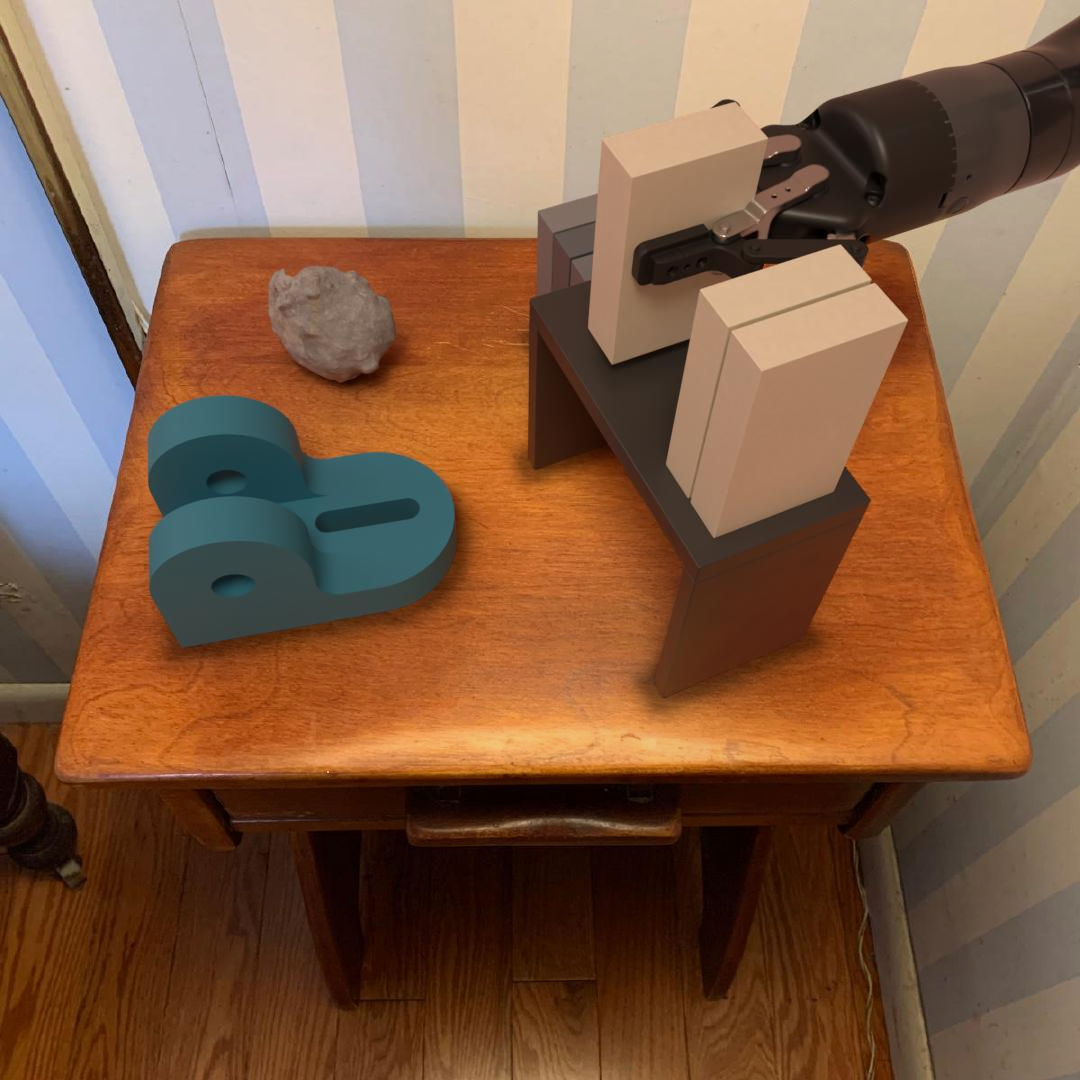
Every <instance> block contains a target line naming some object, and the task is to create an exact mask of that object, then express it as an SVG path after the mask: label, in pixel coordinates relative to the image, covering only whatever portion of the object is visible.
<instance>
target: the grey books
mask: <svg viewBox="0 0 1080 1080" xmlns="http://www.w3.org/2000/svg"><path fill="white" fill-rule="evenodd" d="M597 199H598V193H595V194H591V195H588V196H584V197H581V198H578V199H573V200H570V201H567V202H563V203H559V204H557V205H553V206H549V207H546V208H542V209H539V210H537V233H536V234H537V235H536V236H537V238H536V239H537V240H536V241H537V243H536V292H535V293H536V295H535V297H537V296H540V295H543V294H547V293H550V292H553V291H556V290H560V289H563V288H566V287H569V286H572V285H576V284H579V283H582V282H585V281H589V280H592V266H593V253H594V239H595V226H596V212H597Z"/></svg>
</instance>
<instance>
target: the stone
mask: <svg viewBox="0 0 1080 1080" xmlns="http://www.w3.org/2000/svg"><path fill="white" fill-rule="evenodd" d="M267 301H268V303H267V304H268V309H267V310H268V311H267V312H268V317H269V320H270V325H271V329H272V332H273V333H274V334H275V335H276V336H277V337H278V338H279V340H280V342H281V344H282V346H283V347H284V348H285V350H286V351H287V352H288V354H289V357H290V358H291V359H292V361H294V362H296V363H297V364H298V365H300V366H302V367H304V368H305V369H307V370H308V371H310V372H312V373H314V374H316V375H318V376H320V377H322V378H324V379H327V380H329V381H333V380H334V381H336V382H338V383H339V384H340V383H344V382H347V381H349V380H350V381H351V380H354V379H356V378H357V377H359V375H361V374H366V375H369V374H370V375H371V374H373V373H374V372H376V371H377V370H378V369H379V368H380V361H381V359H382V358H383V357H384V355H385V354H386V353H387V352H388V350H389V349H390V347H391V346H392V345H393V344H395V342H396V339H397V329H396V322H395V317H394V314H393V312H392V308H391V307H392V304H391V301H390V300H389V299H388V297H387V296H385V295H381V294H376V293H375V291H374V290H373V288H372V287H371V285H370V283H369V280H368V279H366V277H363V276H362V275H360V274H359V272H357V271H356V270H349V271H346V272H344V271H342V270H340V269H339V268H337V267H334V266H323V265H310V266H306V267H304V268H302V269H301V270H300V271H299V272H297V274H296V275H295V276H291V275H287V271H286V268H281V269H280V270H276V271H274V273H272V276H271V277H270V281H269V282H268V296H267Z"/></svg>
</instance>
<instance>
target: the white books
mask: <svg viewBox="0 0 1080 1080" xmlns="http://www.w3.org/2000/svg"><path fill="white" fill-rule="evenodd" d="M871 282H872V278H871V277H870V276H869V274H868V273H867V272H866V271H865V270H864V268H863V269H862V268H861V267H860V265H859V264H858V263H857V262H856V261H855V260H854V259H853V258H852V257H851V255H850V254H849V253H848V252H847V251H846V250H845V249H844V248H843V246H842V245H837V246H834V247H831V248H827V249H824V250H821V251H818V252H815V253H812V254H809V255H806V256H802V257H799V258H796V259H793V260H790V261H787V262H784V263H781V264H773V265H772V266H769V267H765V268H763V269H762V270H759V271H756V272H752V273H749V274H746V275H743V276H740V277H737V278H734V279H731V280H727V281H724V282H721V283H718V284H715V285H712V286H709V287H706V288H703V289H700V291H699V297H698V302H697V307H696V312H695V317H694V322H693V327H692V333H691V338H690V343H689V348H688V353H687V358H686V363H685V368H684V374H683V379H682V384H681V389H680V394H679V399H678V404H677V410H676V415H675V420H674V425H673V430H672V435H671V440H670V445H669V451H668V456H667V461H666V465H667V467H668V469H669V470H670V472H671V473H672V475H673V476H674V478H675V479H676V481H677V482H678V484H679V485H680V487H681V489H682V490H683V492H684V493H685V495H686V496H687V498H691V501H690V502H691V504H692V506H693V507H694V509H695V510H696V512H697V513H698V515H699V516H700V518H701V519H702V521H703V523H704V524H705V526H706V527H707V529H708V530H709V532H710V533H711V535H712V536H713V538H716V537H719V536H721V535H724V534H726V533H729V532H731V531H734V530H737V529H739V528H742V527H744V526H747V525H750V524H752V523H755V522H757V521H760V520H762V519H765V518H768V517H770V516H773V515H775V514H778V513H780V512H783V511H786V510H788V509H791V508H793V507H796V506H799V505H801V504H804V503H806V502H809V501H811V500H814V499H817V498H819V497H822V496H824V495H827V494H829V493H832V492H834V490H835V487H836V485H837V483H838V481H839V478H840V476H841V474H842V471H843V469H844V467H846V466H847V465H846V464H847V462H848V460H849V458H850V456H851V453H852V451H853V448H854V446H855V444H856V442H857V439H858V437H859V435H860V432H861V430H862V427H863V425H864V423H865V420H866V419H867V416H868V414H869V411H870V409H871V407H872V405H873V402H874V400H875V398H876V395H877V394H878V391H879V389H880V387H881V384H882V382H883V379H884V377H885V375H886V373H887V370H888V368H889V365H890V364H891V361H892V359H893V356H894V354H895V352H896V350H897V348H898V345H899V342H900V340H901V338H902V336H903V333H904V331H905V329H906V328H907V327H906V326H907V325H908V322H909V319H908V317H906V316H905V314H904V313H903V312H902V311H901V310H900V309H899V308H898V307H897V305H896V304H895V303H894V302H893V301H892V300H891V299H890V298H889V297H888V295H887V294H886V293H885V292H884V291H883V290H882V289H881V288H880V286H879V285H878V284H877V283H876V282H873V283H871Z"/></svg>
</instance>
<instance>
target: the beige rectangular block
mask: <svg viewBox="0 0 1080 1080" xmlns="http://www.w3.org/2000/svg"><path fill="white" fill-rule="evenodd" d="M736 102H737V101H736ZM736 102H733V103H729V104H725V105H722V106H718V107H714V108H711V107H710V108H711V109H710V108H708V109H703V110H700V111H696V112H693V113H689V114H686V115H682V116H678V117H675V118H671V119H667V120H664V121H660V122H657V123H653V124H650V125H646V126H642V127H638V128H635V129H631V130H628V131H625V132H621V133H618V134H614V135H610V136H606V137H603V138H601V144H600V145H601V147H600V158H599V159H600V161H599V172H598V173H599V174H598V184H597V185H598V188H597V194H598V199H597V212H596V226H595V239H594V253H593V266H592V280H591V293H590V307H589V320H588V329H589V330H590V332H591V333H592V335H593V336H594V338H595V340H596V341H597V343H598V344H599V346H600V347H601V349H602V350H603V352H604V353H605V355H606V356H607V358H608V359H609V361H610V363H611V364H612V365H613V364H616V363H619V362H622V361H625V360H628V359H631V358H634V357H637V356H640V355H643V354H646V353H649V352H652V351H655V350H658V349H661V348H664V347H667V346H670V345H673V344H676V343H679V342H682V341H685V340H688V339H690V338H691V333H692V327H693V322H694V317H695V312H696V307H697V302H698V297H699V291H700V289H703V288H706V287H709V286H712V285H715V284H718V283H721V282H724V281H727V280H731V279H732V278H730V277H729V276H727V275H726V274H722V275H714V274H711V273H709V272H708V271H706V272H703V273H700V274H697V275H694V276H690V277H687V278H684V279H683V278H682V279H681V280H678V281H674V282H672V283H668V284H665V285H653V284H652V283H651V284H648V285H645V286H641V285H639V284H638V283H637V281H636V280H635V279H634V277H633V276H632V273H631V271H632V263H633V254H634V250H635V248H636V247H637V246H638V245H639V244H640V243H642V242H644V241H647V240H650V239H654V238H657V237H660V236H664V235H667V234H670V233H673V232H677V231H680V230H683V229H686V228H690V227H693V226H696V225H700V224H704V225H705V226H706V227H707V229H708V230H711V229H712V225H713V223H714V222H716V221H718V220H720V219H722V218H724V217H726V216H728V215H730V214H732V213H734V212H737V211H740V210H743V209H744V208H745V207H746V206H747V205H748V203H749V202H750V201H751V200H753V199H754V198H755V194H756V190H757V185H758V181H759V177H760V172H761V168H762V164H763V159H764V155H765V151H766V146H767V142H768V137H767V136H766V135H765V134H764V133H763V132H762V131H761V130H760V129H761V128H760V127H759V126H758V125H757V124H756V122H754V121H753V119H752V118H751V117H750V116H749V115H748V114H747V113H746V111H744V109H743V108H742V107H741V105H740V106H739V105H738V104H737V103H736Z"/></svg>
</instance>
